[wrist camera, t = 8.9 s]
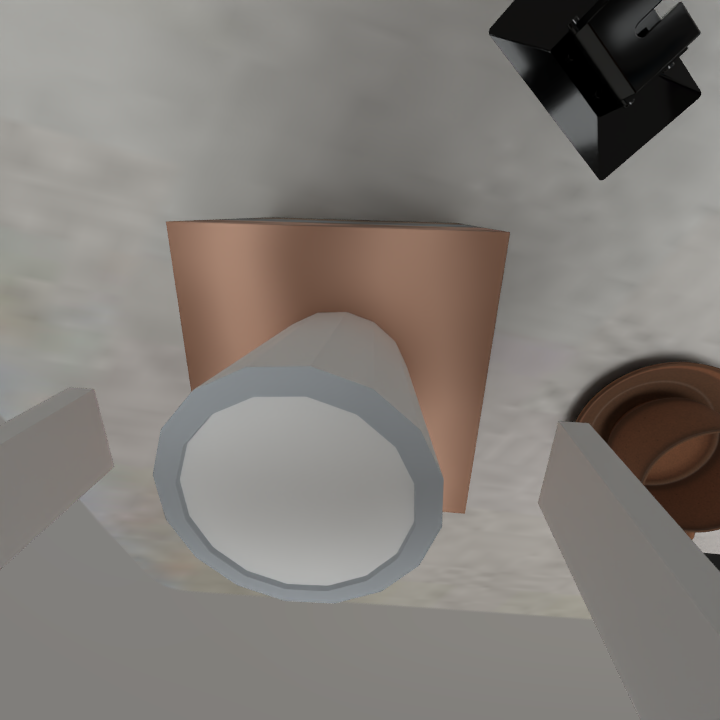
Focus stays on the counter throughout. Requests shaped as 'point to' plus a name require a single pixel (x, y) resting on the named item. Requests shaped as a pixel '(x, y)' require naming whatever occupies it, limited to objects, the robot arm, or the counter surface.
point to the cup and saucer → (667, 436)
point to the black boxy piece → (602, 69)
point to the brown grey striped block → (353, 304)
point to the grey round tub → (305, 465)
